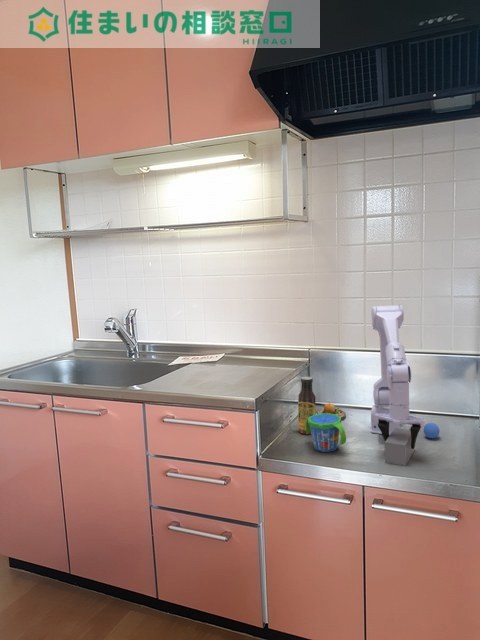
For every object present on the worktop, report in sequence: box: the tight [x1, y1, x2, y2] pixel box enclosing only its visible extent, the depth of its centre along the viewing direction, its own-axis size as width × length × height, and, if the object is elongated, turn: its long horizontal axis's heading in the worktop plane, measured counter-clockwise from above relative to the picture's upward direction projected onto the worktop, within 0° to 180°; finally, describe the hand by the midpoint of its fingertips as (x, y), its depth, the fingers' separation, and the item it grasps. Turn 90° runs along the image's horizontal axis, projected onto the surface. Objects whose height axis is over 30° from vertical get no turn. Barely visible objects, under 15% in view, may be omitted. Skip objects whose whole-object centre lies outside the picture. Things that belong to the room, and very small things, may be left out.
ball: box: [423, 422, 440, 440], centre depth 163 cm, size 5×5×5 cm
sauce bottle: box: [297, 376, 317, 435], centre depth 174 cm, size 7×6×20 cm
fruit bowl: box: [316, 401, 347, 421], centre depth 189 cm, size 12×12×8 cm
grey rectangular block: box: [384, 428, 416, 467], centre depth 151 cm, size 6×12×6 cm, turn 149°
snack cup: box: [305, 413, 347, 453], centre depth 160 cm, size 16×10×10 cm
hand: (400, 445), depth 151 cm, fingers open, 7 cm apart
